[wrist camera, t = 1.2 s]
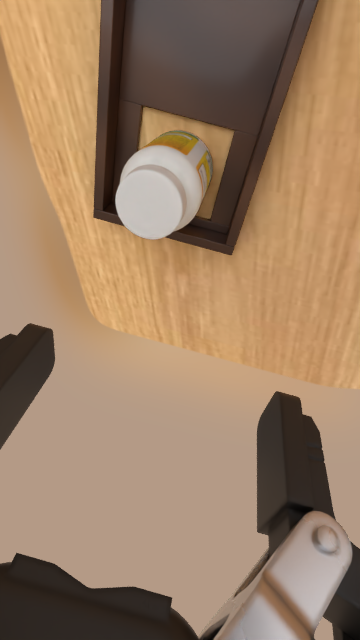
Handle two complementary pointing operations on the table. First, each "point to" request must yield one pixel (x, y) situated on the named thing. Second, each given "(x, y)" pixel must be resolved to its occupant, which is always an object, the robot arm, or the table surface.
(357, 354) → the table surface
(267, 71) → the tray
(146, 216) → the supplement bottle
